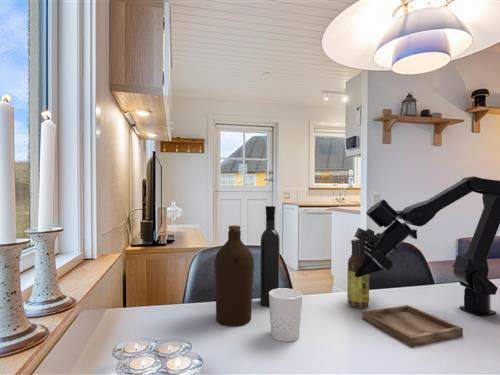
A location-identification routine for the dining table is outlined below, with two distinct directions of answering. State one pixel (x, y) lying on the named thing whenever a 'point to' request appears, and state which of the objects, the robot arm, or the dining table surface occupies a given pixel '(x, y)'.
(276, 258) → the wine bottle
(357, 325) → the dining table surface
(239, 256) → the olive oil
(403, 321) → the walnut tray
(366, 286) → the sauce bottle
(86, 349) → the dining table surface
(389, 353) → the dining table surface
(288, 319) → the white cup
